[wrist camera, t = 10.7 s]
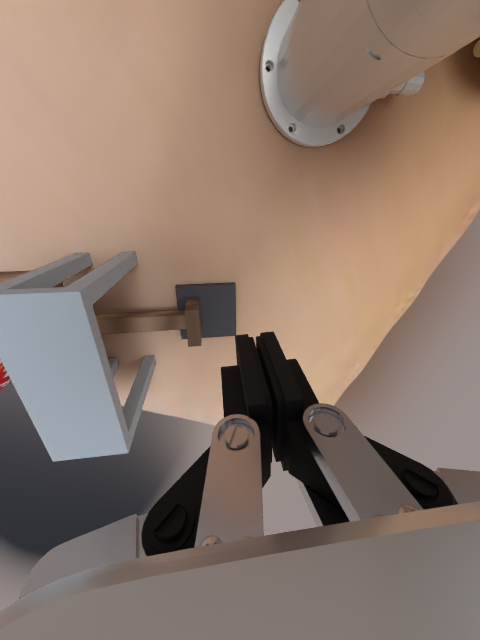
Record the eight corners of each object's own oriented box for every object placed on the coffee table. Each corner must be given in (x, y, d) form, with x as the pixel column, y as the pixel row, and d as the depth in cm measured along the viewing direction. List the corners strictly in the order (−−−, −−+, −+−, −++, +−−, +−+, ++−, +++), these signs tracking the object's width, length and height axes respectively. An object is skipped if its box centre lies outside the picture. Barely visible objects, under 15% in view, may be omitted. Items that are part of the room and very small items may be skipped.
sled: (197, 265, 32) (195, 277, 28) (203, 349, 38) (203, 371, 33) (-60, 273, 29) (-114, 288, 24) (-11, 363, 35) (-47, 390, 30)
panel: (234, 282, 34) (235, 284, 33) (235, 333, 38) (236, 335, 37) (176, 284, 33) (175, 286, 32) (182, 336, 37) (181, 339, 36)
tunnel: (135, 251, 31) (79, 291, 17) (155, 363, 38) (128, 452, 25) (75, 253, 30) (-33, 296, 16) (108, 366, 37) (52, 461, 24)
